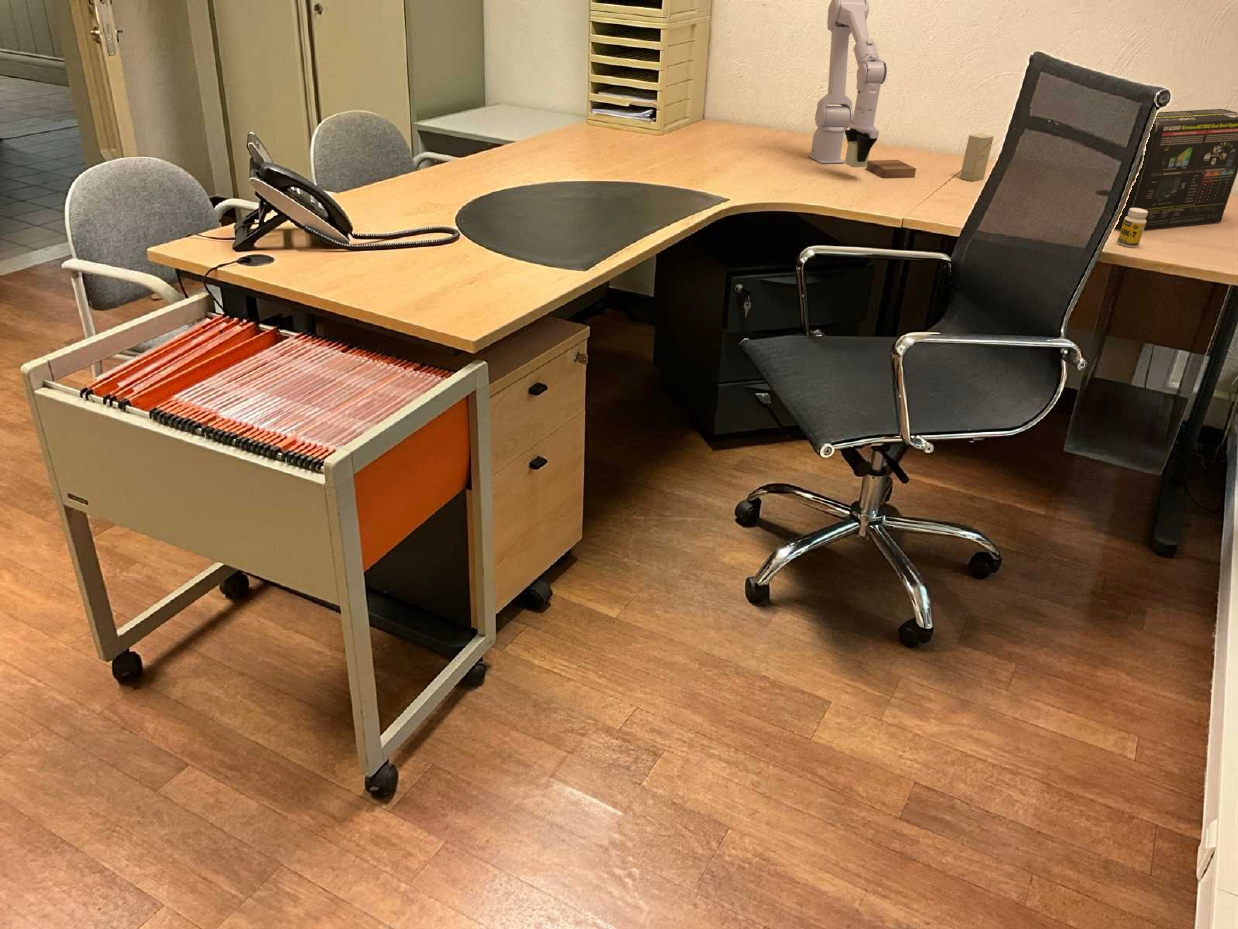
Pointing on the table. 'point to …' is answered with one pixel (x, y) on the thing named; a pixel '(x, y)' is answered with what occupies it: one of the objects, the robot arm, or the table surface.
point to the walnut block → (891, 169)
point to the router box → (1186, 169)
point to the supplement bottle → (1132, 227)
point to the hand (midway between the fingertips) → (856, 159)
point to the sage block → (854, 155)
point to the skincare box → (976, 157)
